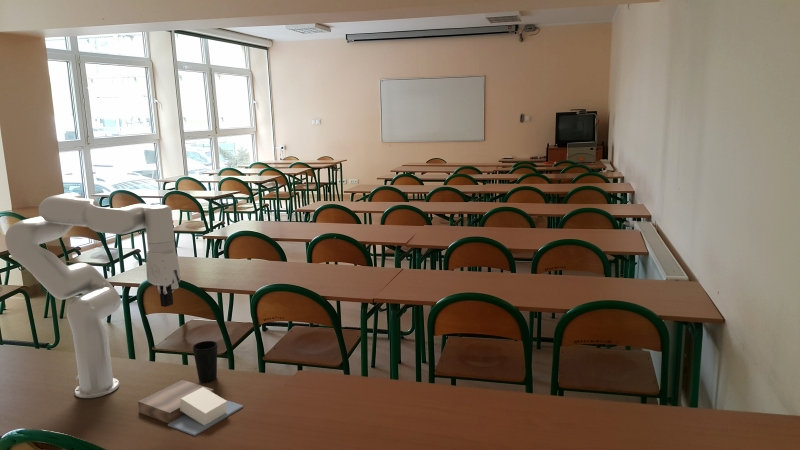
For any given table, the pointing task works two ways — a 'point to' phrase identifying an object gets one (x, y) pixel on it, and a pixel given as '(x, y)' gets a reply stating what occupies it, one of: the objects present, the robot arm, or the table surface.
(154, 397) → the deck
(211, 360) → the cup
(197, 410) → the cream rectangular block
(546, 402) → the table surface
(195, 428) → the mat
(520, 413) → the table surface
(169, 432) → the table surface
